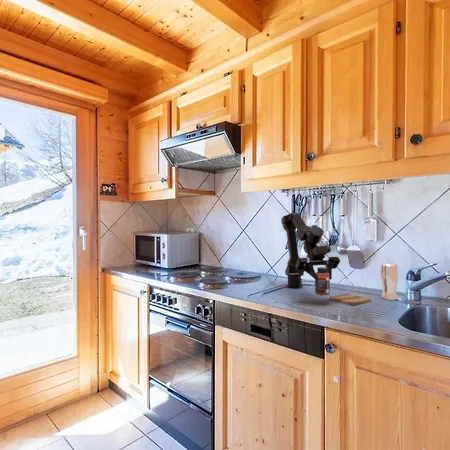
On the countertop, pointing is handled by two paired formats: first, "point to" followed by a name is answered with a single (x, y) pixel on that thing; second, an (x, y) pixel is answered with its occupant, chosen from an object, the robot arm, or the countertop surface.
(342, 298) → the walnut board
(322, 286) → the supplement bottle
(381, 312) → the countertop surface
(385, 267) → the beer glass
